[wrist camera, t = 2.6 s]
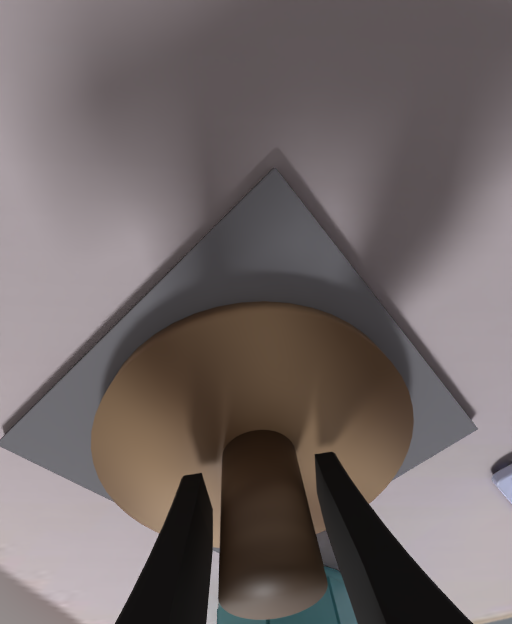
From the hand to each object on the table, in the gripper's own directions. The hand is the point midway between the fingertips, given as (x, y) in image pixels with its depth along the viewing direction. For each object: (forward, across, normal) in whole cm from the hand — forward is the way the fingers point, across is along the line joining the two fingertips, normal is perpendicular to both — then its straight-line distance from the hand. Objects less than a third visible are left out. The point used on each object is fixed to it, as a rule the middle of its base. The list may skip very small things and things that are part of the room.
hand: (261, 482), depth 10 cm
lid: (+2, 0, 0) cm, 2 cm away
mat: (+2, 0, 0) cm, 2 cm away
